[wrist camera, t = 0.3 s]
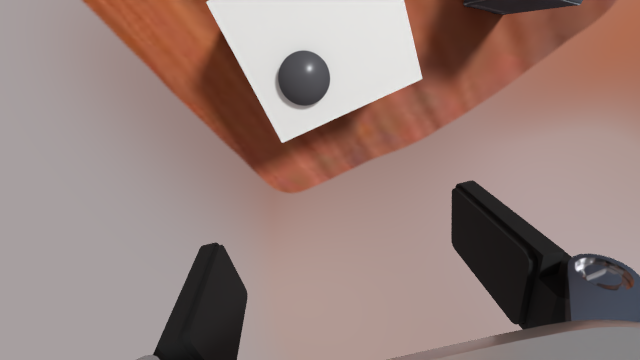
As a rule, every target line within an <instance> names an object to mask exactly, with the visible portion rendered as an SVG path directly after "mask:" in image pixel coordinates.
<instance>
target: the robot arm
mask: <svg viewBox="0 0 640 360" xmlns="http://www.w3.org/2000/svg"><path fill="white" fill-rule="evenodd" d="M452 244H453V247H454V249H455V250H456V251H457V253H458V254H459V255H460V256H461V258H462V259H463V260H464V261H465V263H466V264H467V265H468V267H469V268H470V269H471V271H472V272H473V273H474V274H475V276H476V277H477V278H478V280H479V281H480V282H481V283H482V285H483V286H484V287H485V288H486V290H487V291H488V292H489V294H490V295H491V296H492V298H493V299H494V300H495V301H496V303H497V304H498V305H499V307H500V308H501V309H502V310H503V312H504V313H505V314H506V316H507V317H508V318H509V319H510V320H511V322H512V323H514V324H519V326H520V327H521V328H522V329H523V330H519V331H514V332H509V333H504V334H499V335H495V336H490V337H486V338H481V339H477V340H472V341H468V342H463V343H459V344H454V345H450V346H445V347H441V348H437V349H432V350H428V351H423V352H418V353H414V354H410V355H405V356H401V357H396V358H392V359H388V360H640V276H639V275H638V274H637V273H636V272H635V271H634V270H633V269H632V268H630V267H628V266H627V265H625V264H624V263H622V262H620V261H617V260H615V259H612V258H610V257H606V256H602V255H597V254H579V255H576V256H573V257H571V256H570V255H568V254H567V253H566V252H565V251H564V250H563V249H561V248H560V247H559V246H557V245H556V244H555V243H554V242H552V241H551V240H550V239H548V238H547V237H546V236H544V235H543V234H542V233H541V232H539V231H538V230H537V229H535V228H534V227H533V226H532V225H530V224H529V223H528V222H526V221H525V220H524V219H522V218H521V217H520V216H519V215H517V214H516V213H514V212H513V211H512V210H511V209H510V208H508V207H507V206H505V205H504V204H503V203H502V202H501V201H499V200H498V199H497V198H495V197H494V196H493V195H491V194H490V193H489V192H487V191H486V190H485V189H484V188H482V187H481V186H480V185H479V184H477V183H476V182H475V181H467V182H463V183H459V184H457V185H456V188H455V189H453V190H452ZM246 303H247V291H246V288H245V286H244V284H243V282H242V281H241V279H240V277H239V275H238V273H237V271H236V269H235V267H234V265H233V263H232V261H231V259H230V257H229V255H228V254H227V252H226V250H225V248H224V246H223V245H219V244H218V243H212V244H208V245H203V246H201V248H200V249H199V252H198V254H197V256H196V258H195V261H194V263H193V265H192V268H191V270H190V272H189V274H188V277H187V279H186V281H185V284H184V286H183V288H182V290H181V293H180V295H179V297H178V299H177V302H176V304H175V306H174V308H173V311H172V313H171V315H170V317H169V320H168V322H167V324H166V326H165V329H164V331H163V333H162V335H161V338H160V340H159V342H158V345H157V347H156V349H155V352H154V354H153V355H148V356H144V357H141V358H139V359H137V360H237V355H238V349H239V343H240V337H241V332H242V326H243V320H244V314H245V309H246Z"/></svg>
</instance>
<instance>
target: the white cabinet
mask: <svg viewBox="0 0 640 360" xmlns="http://www.w3.org/2000/svg"><path fill="white" fill-rule="evenodd" d="M206 3H207V5H208V7H209V9H210V10H211V12H212V14H213V16H214V18H215V20H216V22H217V23H218V25H219V27H220V29H221V31H222V33H223V35H224V36H225V38H226V40H227V42H228V44H229V46H230V48H231V49H232V51H233V53H234V55H235V57H236V59H237V60H238V62H239V64H240V66H241V68H242V70H243V72H244V73H245V75H246V77H247V79H248V81H249V83H250V85H251V86H252V88H253V90H254V92H255V94H256V96H257V98H258V99H259V101H260V103H261V105H262V107H263V109H264V110H265V112H266V114H267V116H268V118H269V120H270V122H271V123H272V125H273V127H274V129H275V131H276V133H277V135H278V136H279V138H280V140H281V142H282V143H283V142H286V141H288V140H290V139H292V138H294V137H297V136H299V135H301V134H303V133H305V132H307V131H310V130H312V129H314V128H316V127H318V126H321V125H323V124H325V123H327V122H329V121H331V120H334V119H336V118H338V117H340V116H342V115H345V114H347V113H349V112H351V111H353V110H355V109H358V108H360V107H362V106H364V105H366V104H369V103H371V102H373V101H375V100H377V99H379V98H382V97H384V96H386V95H388V94H390V93H393V92H395V91H397V90H399V89H401V88H403V87H406V86H408V85H410V84H412V83H414V82H417V81H419V80H421V79H422V75H421V70H420V66H419V62H418V58H417V54H416V49H415V45H414V41H413V37H412V33H411V28H410V24H409V20H408V16H407V12H406V7H405V3H404V0H209V1H207V2H206Z"/></svg>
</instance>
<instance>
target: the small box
mask: <svg viewBox="0 0 640 360" xmlns="http://www.w3.org/2000/svg"><path fill="white" fill-rule="evenodd" d="M582 1H583V0H464V3H463V4H464V6H465V7H466V6H467V7H473V8H477V9H481V10H485V11H489V12H492V13H495V14H502V15H506V14H513V13H520V12H528V11H536V10H543V9H550V8H559V7H566V6H573V5H580V4H581V3H582Z"/></svg>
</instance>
